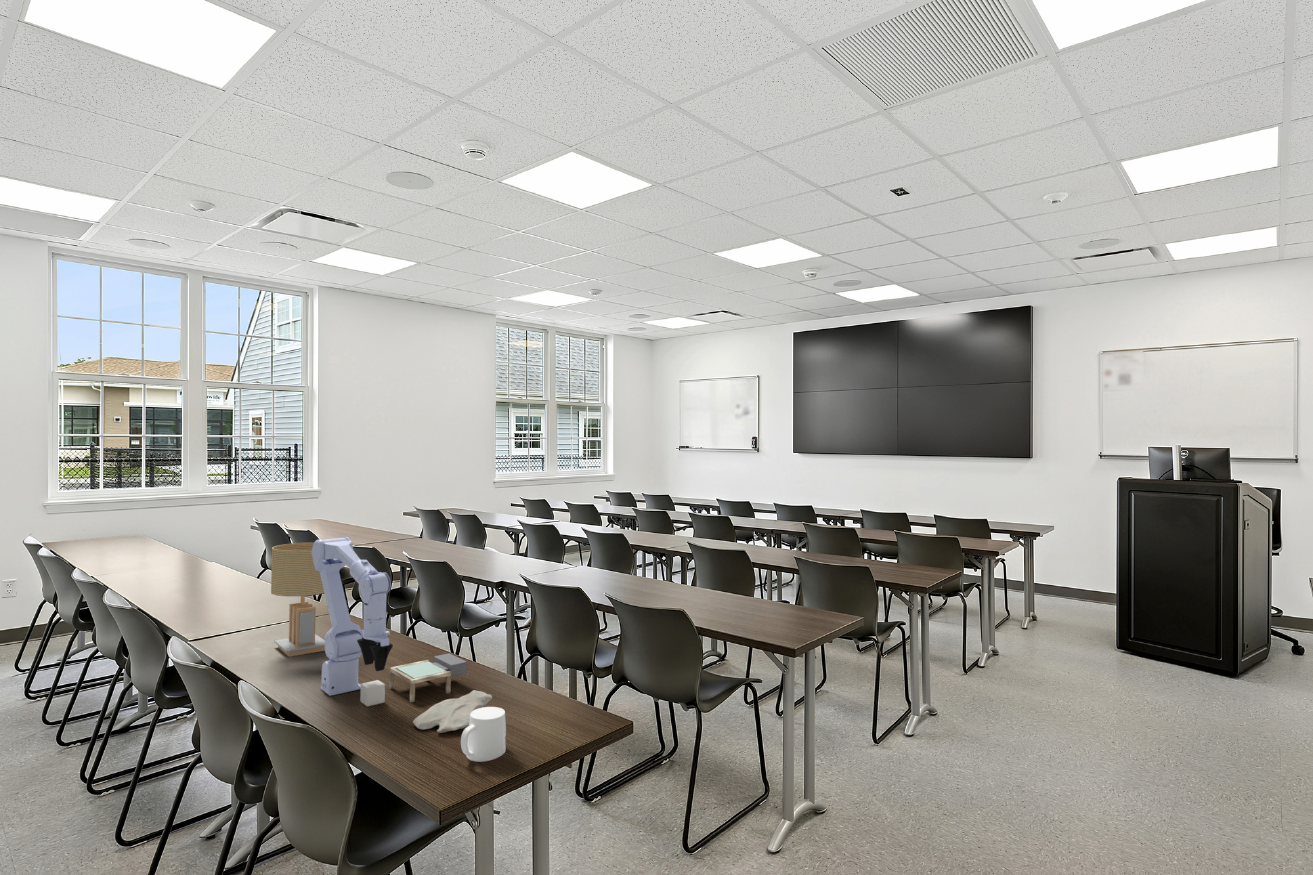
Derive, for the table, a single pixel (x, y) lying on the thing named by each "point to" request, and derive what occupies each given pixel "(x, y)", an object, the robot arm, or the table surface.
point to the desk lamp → (297, 579)
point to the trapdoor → (436, 667)
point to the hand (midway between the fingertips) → (374, 667)
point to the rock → (452, 712)
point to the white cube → (372, 693)
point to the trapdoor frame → (417, 679)
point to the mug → (485, 734)
